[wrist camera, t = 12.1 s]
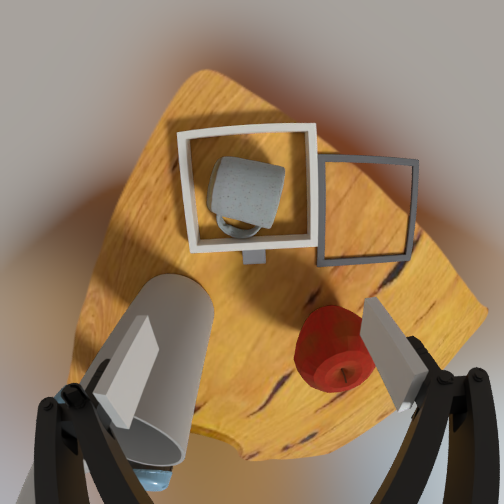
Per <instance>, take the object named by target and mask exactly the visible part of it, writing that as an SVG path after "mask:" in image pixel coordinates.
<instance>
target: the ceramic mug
mask: <svg viewBox="0 0 504 504" xmlns="http://www.w3.org/2000/svg"><path fill="white" fill-rule="evenodd" d="M284 177H285V168H284V167H281V166H277V165H272V164H268V163H263V162H258V161H253V160H248V159H243V158H238V157H221V158H220V159H218V160H217V162H216V163H215V165H214V168H213V171H212V174H211V177H210V182H209V186H208V192H207V206H208V209H209V210H210V211H211V212H213V213H216V214H217V216H216V218H217V223H218V226H219V227H220V229H221V230H222V231H223V232H224V233H226V234H228V235H230V236H232V237H235V238H241V239H244V238H249V237H251V236H253V235H255V234H256V233H257V232H258V231H259V230H260V228H261V227H263V228H268V229H270V228H271V226H272V224H273V222H274V219H275V216H276V213H277V209H278V205H279V201H280V197H281V193H282V189H283V184H284ZM222 216H224V217H227V218H232V219H236V220H240V221H243V222H246V223H250V224H253V225H256V226H255V227H254V228H252V229H249V230H242V229H238V228H235V227H233V226H231V225H227V224H226V223H225V221H224V220H223V218H222Z"/></svg>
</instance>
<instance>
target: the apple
mask: <svg viewBox="0 0 504 504" xmlns="http://www.w3.org/2000/svg"><path fill="white" fill-rule="evenodd" d="M361 324H362V318H361V317H359V316H358V315H356V314H354V313H353V312H351V311H349V310H347V309H345V308H342V307H339V306H334V305H329V306H325V307H321V308H319V309H317V310H316V311H314V312H312V313H311V314H310V316H309V317H308V318H307V319H306V321H305V323H304V325H303V327H302V329H301V331H300V334H299V337H298V340H297V343H296V349H295V355H294V362H295V365H296V368H297V370H298V372H299V373H300V375H301V376H302V378H303V379H304V380H305V381H306V382H307V383H308V384H309V385H310V386H311V387H313V388H315V389H318V390H320V391H324V392H327V393H333V392H342V391H346V390H350V389H352V388H354V387H356V386H358V385H360V384H361V383H362V382H364V381H365V380H366V379H367V378H368V377H369V376H370V374H371V373H372V372H373V370H374V368H375V366H376V365H375V363H374V361H373V359H372V357H371V355H370V353H369V351H368V349H367V348H366V346H365V344H364V342H363V340H362V338H361V336H360V330H361Z"/></svg>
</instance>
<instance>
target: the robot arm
mask: <svg viewBox="0 0 504 504" xmlns="http://www.w3.org/2000/svg"><path fill="white" fill-rule="evenodd" d="M360 336H361V338H362V340H363V342H364V344H365V346H366V348H367V349H368V351H369V353H370V355H371V357H372V359H373V361H374V363H375V365H376V367H377V369H378V371H379V373H380V375H381V377H382V380H383V382H384V384H385V386H386V388H387V390H388V392H389V394H390V396H391V398H392V401H393V403H394V405H395V407H396V409H397V411H398V412H400V411H403V410H406V409H410V408H411V407H412V405H413V403H414V401H415V402H416V404H417V408H416V410H415V412H414V414H413V415H412V417H411V418H412V421H411V424H410V426H409V428H408V431H407V433H406V436H405V438H404V440H403V443H402V445H401V447H400V450H399V452H398V454H397V456H396V458H395V460H394V462H393V464H392V466H391V468H390V470H389V472H388V474H387V476H386V478H385V479H384V481H383V483H382V485H381V487H380V488H379V490H378V492H377V494H376V495H375V497H374V498H373V500H372V502H371V503H370V504H417V503H418V501H419V499H420V497H421V495H422V493H423V491H424V488H425V486H426V484H427V481H428V479H429V476H430V474H431V471H432V469H433V466H434V463H435V460H436V457H437V455H438V451H439V449H440V445H441V442H442V439H443V436H444V432H445V428H446V425H447V421H448V417H449V449H448V465H447V475H446V484H445V491H444V498H443V504H498V500H499V483H500V482H499V481H500V457H499V440H498V429H497V420H496V413H495V406H494V400H493V395H492V390H491V385H490V380H489V376H488V374H487V372H486V371H485V370H483V369H481V368H477V367H476V368H472V369H471V370H470V371H469V372H468V374H467V376H454V375H453V374H452V373H451V372H449V371H446V370H441V369H440V368H439V366H438V365H437V363H436V362H435V360H434V359H433V358H432V356H431V355H430V353H428V351H427V349H426V348H425V347H424V345H423V344H422V342H421V341H420V340H419V339H417V338H416V337H414V336H410V337H405V335H404V334H403V332H402V331H401V330H400V328H399V327H398V325H397V324H396V323H395V321H394V320H393V319H392V317H391V316H390V315H389V313H388V312H387V311H386V309H385V308H384V307H383V305H382V304H381V303H380V301H379V300H378V299H377V297H372V298H365V302H364V310H363V317H362V324H361V330H360ZM158 351H159V347H158V345H157V342H156V339H155V336H154V333H153V330H152V327H151V324H150V321H149V318H148V315H137V316H136V318H135V319H134V321H133V323H132V324H131V326H130V328H129V329H128V331H127V333H126V334H125V336H124V338H123V339H122V341H121V343H120V344H119V346H118V348H117V350H116V351H115V353H114V355H113V357H112V358H111V359H105V360H104V361H103V362H102V363H101V364H100V365H99V366H98V368H97V370H96V372H95V373H94V375H93V377H92V378H91V380H90V382H89V384H88V385H87V387H86V389H85V391H84V389H83V388H82V386H81V385H80V384H78V383H71V384H68V385H65V386H64V387H63V388H62V389H61V390H60V391H59V392H58V393H57V394H56V395H55V397H54V398H53V397H47V398H44V399H43V400H42V401H41V402H40V404H39V406H38V413H37V420H36V432H35V447H34V463H33V465H32V467H31V469H30V471H29V473H28V476H27V478H26V480H25V482H24V485H23V487H22V490H21V492H20V494H19V497H18V500H17V502H16V504H90V502H89V497H88V492H87V486H86V478H85V473H88V472H90V474H91V476H92V478H93V481H94V483H95V485H96V487H97V490H98V492H99V494H100V496H101V498H102V500H103V502H104V504H154V503H153V501H152V500H151V498H150V497H149V496H148V494H147V492H146V491H162V490H164V489H166V488H167V487H168V484H169V481H170V478H171V475H172V469H173V466H152V465H146V464H142V463H138V462H134V461H131V460H128V459H127V458H126V456H125V455H124V453H123V451H122V449H121V447H120V445H119V443H118V441H117V439H116V437H115V435H114V432H113V430H112V428H111V427H110V424H111V421H112V422H113V423H114V424H115V426H116V427H120V428H125V429H129V428H130V425H131V422H132V419H133V417H134V414H135V411H136V408H137V406H138V403H139V400H140V398H141V395H142V392H143V390H144V387H145V384H146V382H147V379H148V377H149V374H150V372H151V369H152V366H153V364H154V361H155V359H156V356H157V354H158ZM145 490H146V491H145Z"/></svg>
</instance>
